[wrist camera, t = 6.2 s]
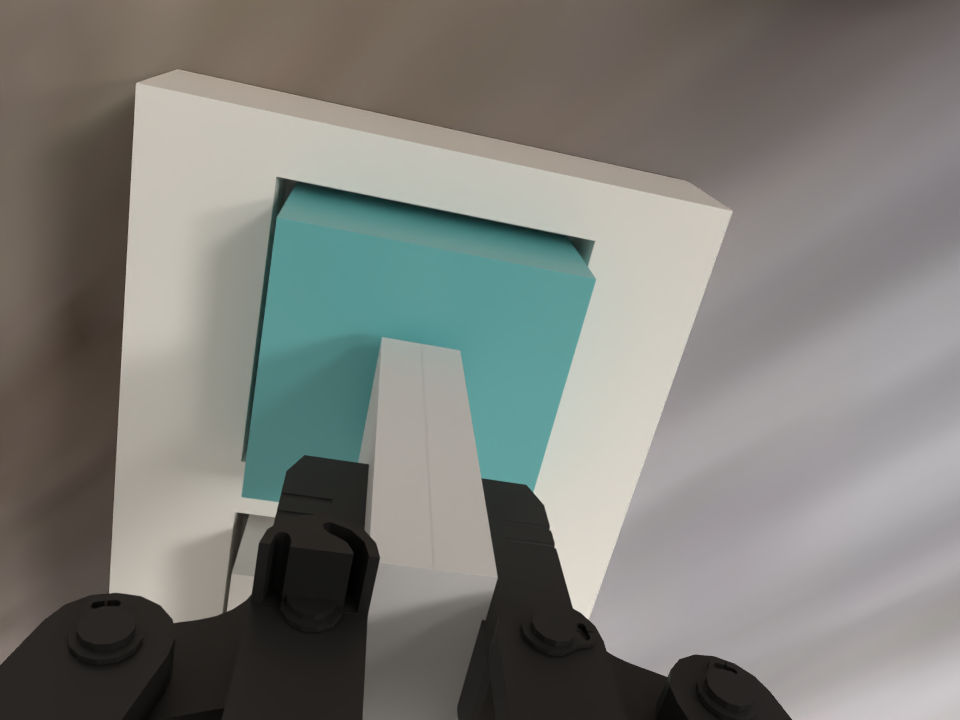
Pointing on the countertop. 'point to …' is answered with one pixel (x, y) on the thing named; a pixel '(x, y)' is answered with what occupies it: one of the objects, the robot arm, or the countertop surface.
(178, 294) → the keypad
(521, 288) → the teal key
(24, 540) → the countertop surface
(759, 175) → the countertop surface
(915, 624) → the countertop surface
